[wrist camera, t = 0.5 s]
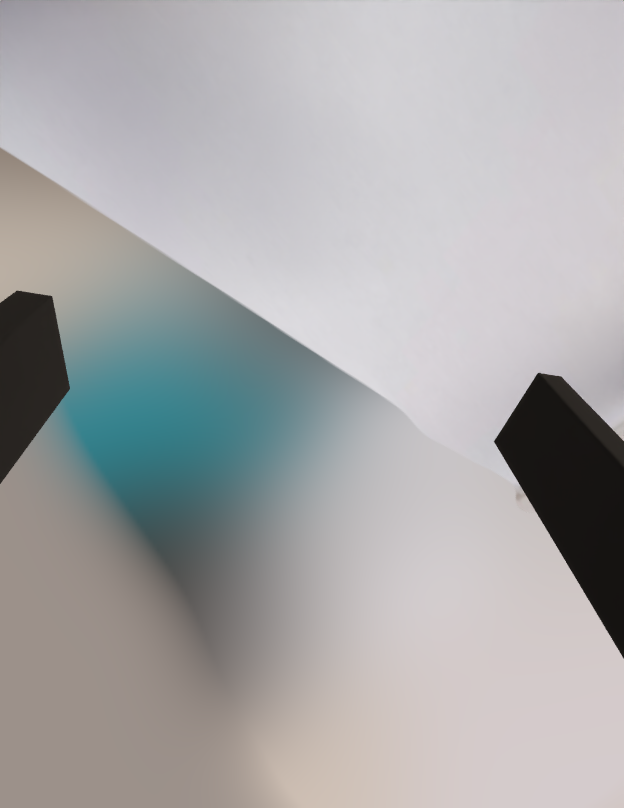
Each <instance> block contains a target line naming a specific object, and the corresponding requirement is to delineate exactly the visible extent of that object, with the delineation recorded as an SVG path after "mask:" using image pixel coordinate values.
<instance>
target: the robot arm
mask: <svg viewBox="0 0 624 808" xmlns="http://www.w3.org/2000/svg"><path fill="white" fill-rule="evenodd" d="M69 389H70V386H69V381H68V376H67V371H66V366H65V361H64V356H63V350H62V345H61V340H60V334H59V329H58V324H57V319H56V314H55V308H54V303H53V298H52V296H48V295H41V294H34V293H29V292H22V291H16V292H15V293H13V294H12V295H11V296H9V297H8V298H6V299H5V300H4V301H2V302H1V303H0V484H1V482H2V481H3V479H4V478H5V477H6V475H7V474H8V473H9V471H10V470H11V468H12V467H13V466H14V464H15V463H16V462H17V460H18V459H19V458H20V456H21V455H22V454H23V452H24V451H25V449H26V448H27V447H28V445H29V444H30V443H31V441H32V440H33V438H34V437H35V436H36V434H37V433H38V432H39V430H40V429H41V428H42V426H43V425H44V423H45V422H46V421H47V419H48V418H49V417H50V415H51V414H52V413H53V411H54V410H55V408H56V407H57V406H58V404H59V403H60V401H61V400H62V399H63V398H64V396H65V395H66V393H67V392H68V391H69ZM494 442H495V444H496V446H497V447H498V449H499V451H500V452H501V454H502V456H503V457H504V459H505V461H506V462H507V464H508V466H509V467H510V469H511V471H512V472H513V474H514V476H515V477H516V479H517V481H518V482H519V484H520V486H521V487H522V489H523V491H524V492H525V494H526V496H527V497H528V499H529V501H530V502H531V504H532V506H533V508H534V509H535V511H536V513H537V514H538V516H539V518H540V519H541V521H542V523H543V524H544V526H545V527H546V529H547V531H548V532H549V534H550V536H551V538H552V539H553V541H554V543H555V544H556V546H557V548H558V549H559V551H560V553H561V554H562V556H563V558H564V559H565V561H566V563H567V564H568V566H569V568H570V569H571V571H572V573H573V574H574V576H575V578H576V579H577V581H578V583H579V584H580V586H581V588H582V589H583V591H584V593H585V594H586V596H587V598H588V600H589V601H590V603H591V604H592V606H593V608H594V609H595V611H596V613H597V615H598V616H599V618H600V620H601V621H602V623H603V625H604V626H605V628H606V630H607V631H608V633H609V635H610V636H611V638H612V640H613V641H614V643H615V645H616V646H617V648H618V650H619V651H620V653H621V655H622V656H623V658H624V441H623V440H622V439H621V438H620V437H619V436H618V435H617V434H616V433H615V432H614V431H613V430H612V429H611V428H610V427H609V425H608V424H607V423H606V422H605V421H604V420H603V419H602V418H601V417H600V416H599V415H598V414H597V413H596V412H595V411H594V410H593V409H592V408H591V407H590V406H589V405H588V404H587V403H586V402H585V401H584V400H583V399H582V398H581V397H580V396H579V395H578V394H577V393H576V392H575V390H574V389H573V388H572V387H571V386H570V385H569V384H568V383H567V382H566V381H565V380H564V379H563V378H562V377H560V376H554V375H548V374H541V373H538V374H537V375H536V377H535V378H534V380H533V382H532V383H531V385H530V386H529V388H528V389H527V391H526V393H525V394H524V396H523V397H522V399H521V400H520V402H519V403H518V405H517V407H516V408H515V410H514V411H513V413H512V414H511V416H510V417H509V419H508V421H507V422H506V424H505V425H504V427H503V428H502V430H501V432H500V433H499V435H498V436H497V438H496V439H495V441H494Z"/></svg>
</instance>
